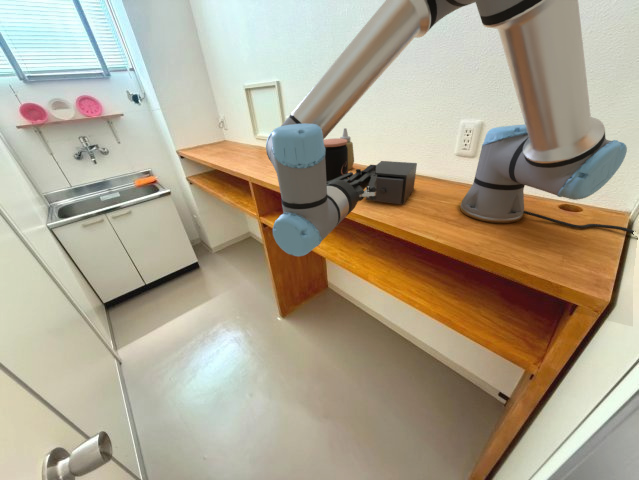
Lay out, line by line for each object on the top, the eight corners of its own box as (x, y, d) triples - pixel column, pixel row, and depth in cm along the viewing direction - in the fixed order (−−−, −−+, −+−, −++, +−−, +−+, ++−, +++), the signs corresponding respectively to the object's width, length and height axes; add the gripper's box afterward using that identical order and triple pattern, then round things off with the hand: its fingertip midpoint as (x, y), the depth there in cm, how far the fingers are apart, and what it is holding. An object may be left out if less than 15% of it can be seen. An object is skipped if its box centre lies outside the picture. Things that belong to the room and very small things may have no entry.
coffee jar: (346, 195, 92) (345, 143, 82) (318, 195, 94) (314, 144, 84) (349, 185, 100) (349, 137, 91) (323, 185, 103) (320, 138, 93)
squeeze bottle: (357, 167, 122) (357, 127, 113) (349, 172, 116) (349, 130, 107) (342, 166, 126) (341, 126, 117) (334, 170, 120) (332, 129, 111)
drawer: (399, 205, 79) (401, 181, 75) (364, 200, 84) (365, 178, 80) (410, 190, 90) (412, 168, 86) (378, 186, 95) (380, 165, 91)
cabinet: (403, 204, 82) (406, 175, 77) (366, 199, 87) (367, 172, 82) (413, 189, 92) (417, 163, 87) (380, 185, 98) (381, 160, 93)
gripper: (307, 215, 55) (350, 181, 72) (363, 225, 49) (396, 185, 66) (303, 181, 52) (350, 154, 69) (364, 188, 46) (398, 156, 63)
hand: (373, 169), depth 68 cm, fingers closed
